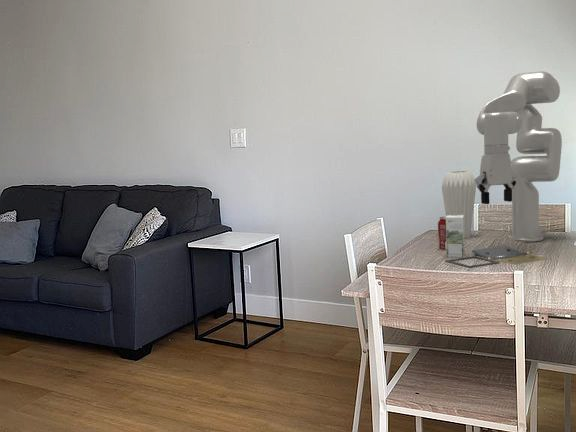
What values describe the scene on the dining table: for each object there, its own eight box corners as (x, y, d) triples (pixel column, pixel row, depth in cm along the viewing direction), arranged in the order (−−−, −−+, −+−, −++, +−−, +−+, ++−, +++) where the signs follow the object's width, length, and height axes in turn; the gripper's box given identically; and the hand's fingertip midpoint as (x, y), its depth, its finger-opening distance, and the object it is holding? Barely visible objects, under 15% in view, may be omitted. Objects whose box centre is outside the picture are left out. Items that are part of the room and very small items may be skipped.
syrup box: (465, 256, 208) (464, 214, 207) (464, 259, 203) (463, 216, 201) (447, 256, 210) (446, 214, 208) (446, 259, 205) (445, 216, 203)
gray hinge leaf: (504, 247, 212) (505, 243, 211) (526, 256, 202) (527, 252, 202) (471, 252, 206) (472, 248, 206) (493, 262, 197) (493, 257, 197)
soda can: (458, 252, 216) (457, 218, 214) (438, 252, 217) (438, 219, 216) (457, 248, 222) (456, 216, 221) (438, 248, 224) (437, 216, 222)
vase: (458, 241, 237) (457, 173, 234) (435, 237, 249) (434, 172, 246) (484, 237, 243) (483, 171, 240) (460, 233, 255) (459, 170, 252)
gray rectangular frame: (474, 259, 202) (474, 256, 202) (499, 265, 191) (499, 261, 191) (445, 264, 198) (445, 260, 197) (469, 270, 187) (469, 266, 187)
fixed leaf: (528, 255, 204) (528, 251, 204) (553, 260, 194) (553, 256, 194) (485, 262, 197) (485, 257, 197) (509, 267, 188) (509, 262, 187)
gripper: (508, 149, 207) (509, 199, 210) (467, 152, 201) (468, 204, 203) (525, 149, 201) (525, 201, 203) (482, 152, 194) (483, 205, 196)
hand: (496, 202), depth 203 cm, fingers open, 9 cm apart
